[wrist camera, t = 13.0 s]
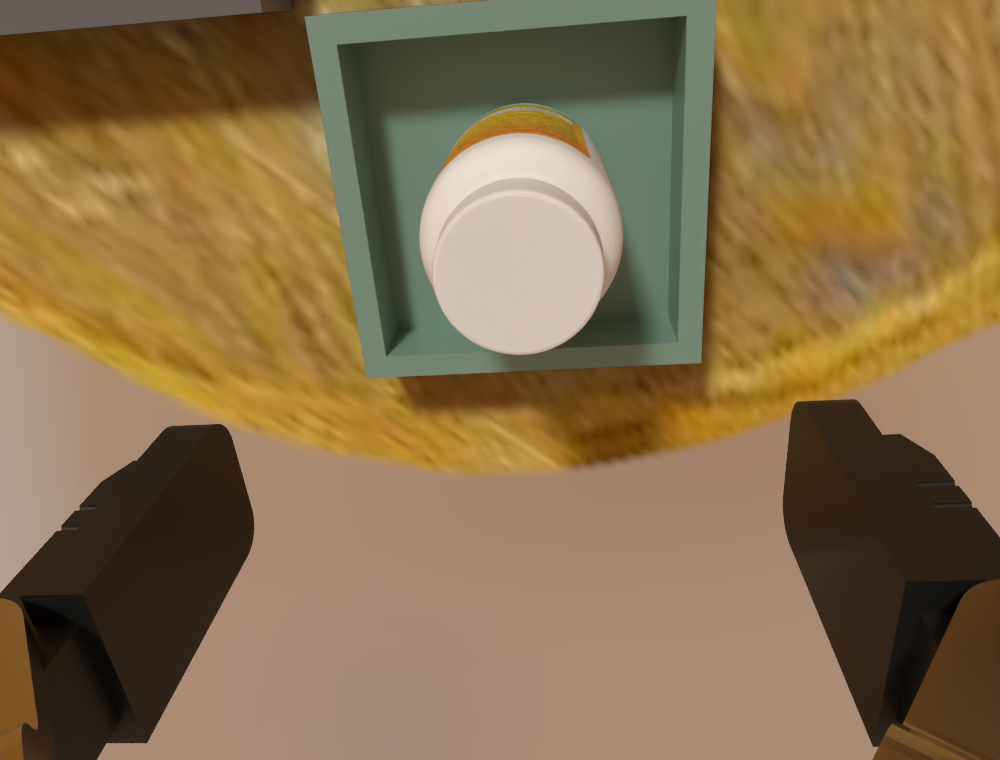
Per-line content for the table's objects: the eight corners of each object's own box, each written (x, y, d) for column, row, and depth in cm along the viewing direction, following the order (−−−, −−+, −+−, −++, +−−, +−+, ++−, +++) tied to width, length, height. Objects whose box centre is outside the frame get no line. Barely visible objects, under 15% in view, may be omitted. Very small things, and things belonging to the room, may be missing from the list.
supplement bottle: (413, 170, 26) (350, 257, 18) (540, 64, 25) (539, 102, 16) (511, 290, 28) (498, 422, 19) (635, 198, 26) (682, 298, 18)
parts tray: (698, -19, 24) (717, -20, 21) (686, 328, 29) (701, 363, 26) (330, 13, 25) (304, 16, 22) (383, 343, 30) (366, 378, 27)
